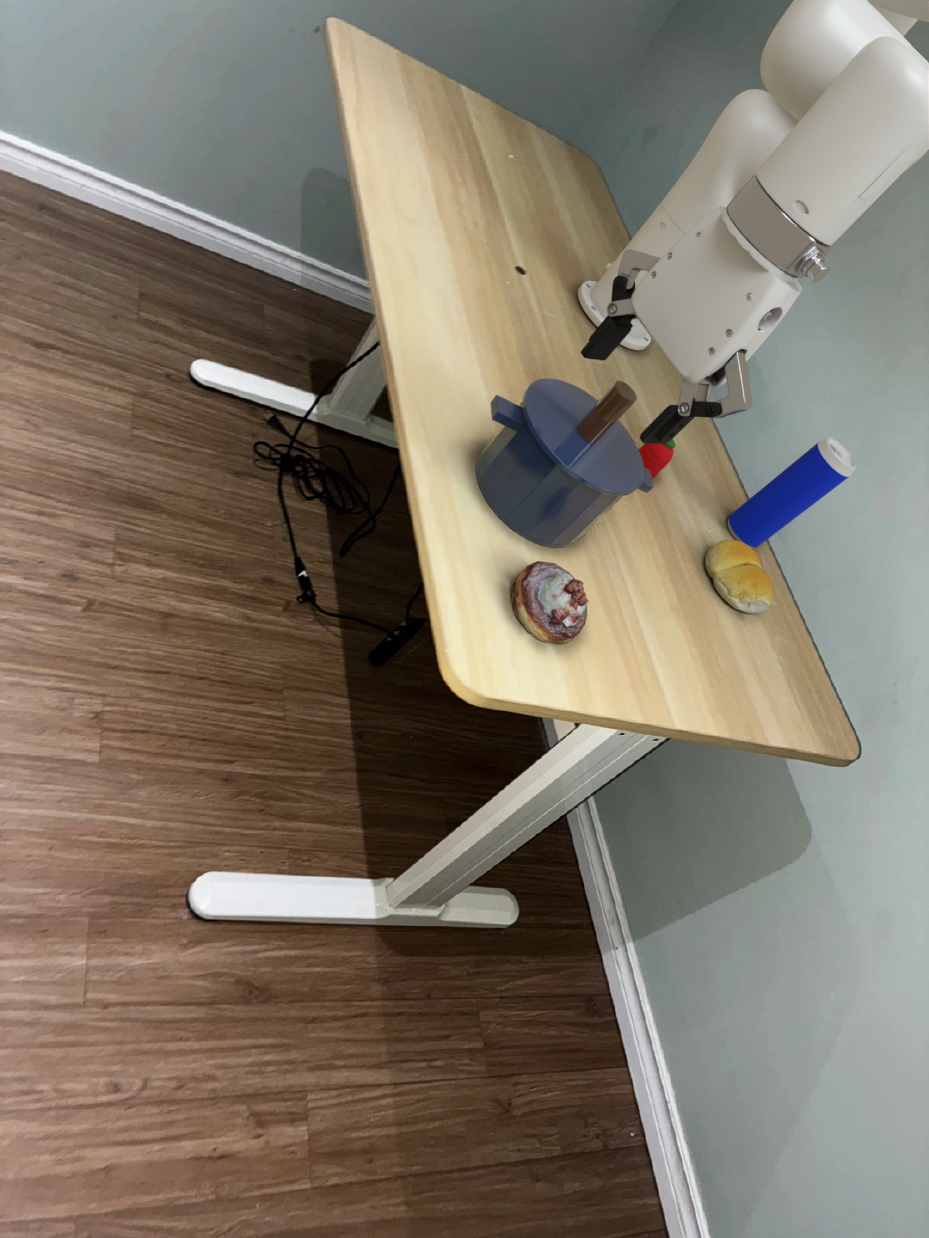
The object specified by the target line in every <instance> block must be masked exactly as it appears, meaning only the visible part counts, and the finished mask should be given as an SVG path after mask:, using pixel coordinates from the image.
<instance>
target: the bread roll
mask: <svg viewBox="0 0 929 1238" xmlns="http://www.w3.org/2000/svg"><path fill="white" fill-rule="evenodd" d="M704 564H705V568H706V572H707V574H708V575H709V576H708V577H710V578H711V579H712V580H713V586H714V588H715V590H716V591H717V593H718V594H719V595H720V597H721V598H722V599H723V600H724V601H725V602H726V603H728V604H729V605H730V606H731V607H732V608H733V609H734V610H735V609H736V610H738V611H741V612H744V613H747V614H759V613H763V612H765V611H766V610H767V609H769V606H770V605H771V603H772V601H773V598H774V585H773V581H772V580H773V579H772V578H771V576H770V575H769V574H768V572H767V571H765V570H764V569H762V562H761V558H760V555H759V554H758V553H757V552H756V551H755V550H754V548H751V547H750V546H748V545H746V544H745V543H743V542H740V541H737V540H736V539H729V538H728V539H724V540H723V539H722V540H720V541H718V542H717V543H715V544H713V545H712V547H711V548H710V549H709V550H708V551H707V553H706V554H705V559H704Z"/></svg>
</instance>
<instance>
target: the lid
mask: <svg viewBox="0 0 929 1238" xmlns="http://www.w3.org/2000/svg"><path fill="white" fill-rule="evenodd" d="M637 400H638V397H637V394H636V392H635V390H634V389H633V388H632V387H631V386H630V385H629V384H628V383H626V382H625V381H622V380H615V382H614V383H613V384H612V385H611V386H610V388H609V389H608V390H607V391H606V392H605V393H604V394H603V395H602V397H601V398H599V400H598V399H597V398H595V397H594V396H593V395H591V394H590V393H588V392H587V391H585V390H583V388H580V387H579V386H576V385H575V384H572V383H570V382H567V381H564V380H561V379H557V378H551V377H547V378H545V377H543V378H538V379H536V380H534V381H532V382H531V383H530V384H529V385H528V387H527V388H526V389H525V391H524V393H523V396H522V401H523V411H524V415H525V418H526V421H527V424H528V426H529V428H530V430H531V432H532V433H533V435H534V437H535V438H536V440H537V441H538V443H539V444H540V446H541V447H542V448H543V449H544V451H545V452H546V453H547V454H548V455H549V456H550V458H551V459H552V460H553V461H554V462H555V463H556V464H557V465H558V466H560V467H561V468H562V469H563V470H564V471H565V472H567V473H568V474H569V475H570V476H572V477H573V478H575V479H576V480H577V481H579V482H581V483H582V484H584V485H585V486H587V487H589V488H591V489H593V490H596V491H598V492H601V493H604V494H607V495H613V496H623V497H624V496H630V495H631V494H633V493H634V492H635V491H637V490H639V489H638V488H639V486H640V485H641V484H642V481H643V478H644V465H643V461H642V457H641V454H640V452H639V448H638V446H637V444H636V442H635V440H634V439H633V437H632V435H631V434H630V433H629V431H628V430H627V428H626V427H625V425H623V423H622V422H621V421H620V419H621V417H622V416H623V415H624V414H625V413H626V412H627V411H628V410H629V409H630V408H631V407H632V406H633V405H634V404H635V403H636V401H637Z"/></svg>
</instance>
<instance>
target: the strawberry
mask: <svg viewBox="0 0 929 1238" xmlns="http://www.w3.org/2000/svg"><path fill="white" fill-rule="evenodd" d="M675 447H676V442H675V440H674V438H673V439H672V440H671V441H669V442H667V443H664V444H661V443H660V444H643V445H642V446H641V447H640V448H638V450H639V452H640V454H641V457H642V461H643V465H644V468H646V469H648V470H650V474H651V478H652V479H654V478H655V477H656V476H657V475H658V474H659V473H660V472H661V471H662V470H664V468H666V466H667V465H669V463H670V462H671V461H672V459H673V456H674V448H675Z"/></svg>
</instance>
